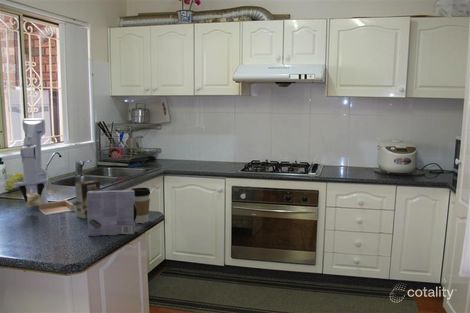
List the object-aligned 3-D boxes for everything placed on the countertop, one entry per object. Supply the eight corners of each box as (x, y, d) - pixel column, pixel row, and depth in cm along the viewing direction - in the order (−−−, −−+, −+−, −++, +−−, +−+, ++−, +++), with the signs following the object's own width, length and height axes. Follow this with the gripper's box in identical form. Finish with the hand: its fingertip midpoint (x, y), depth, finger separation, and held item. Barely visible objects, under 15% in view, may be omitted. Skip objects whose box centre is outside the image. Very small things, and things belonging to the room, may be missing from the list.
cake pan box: (138, 230, 169) (136, 188, 167) (137, 234, 164) (135, 191, 162) (89, 233, 166) (87, 190, 164) (87, 237, 161) (84, 193, 159)
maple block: (29, 206, 187) (28, 197, 186) (25, 203, 194) (24, 193, 193) (41, 205, 190) (40, 195, 189) (36, 201, 197) (35, 192, 196)
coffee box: (83, 219, 185) (81, 184, 183) (76, 216, 189) (74, 182, 187) (101, 214, 192) (100, 181, 190) (94, 212, 196) (92, 179, 194)
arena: (39, 210, 201) (38, 204, 200) (66, 205, 209) (66, 200, 208) (45, 215, 191) (45, 209, 191) (74, 210, 199) (73, 204, 199)
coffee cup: (128, 221, 181) (126, 188, 179) (144, 217, 187) (143, 185, 185) (138, 225, 175) (137, 191, 173) (155, 221, 181) (154, 188, 179)
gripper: (14, 175, 182) (17, 204, 184) (49, 171, 191) (51, 199, 193) (11, 172, 188) (14, 201, 190) (45, 169, 197) (47, 197, 199)
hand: (32, 200), depth 192 cm, fingers closed on maple block, 5 cm apart
